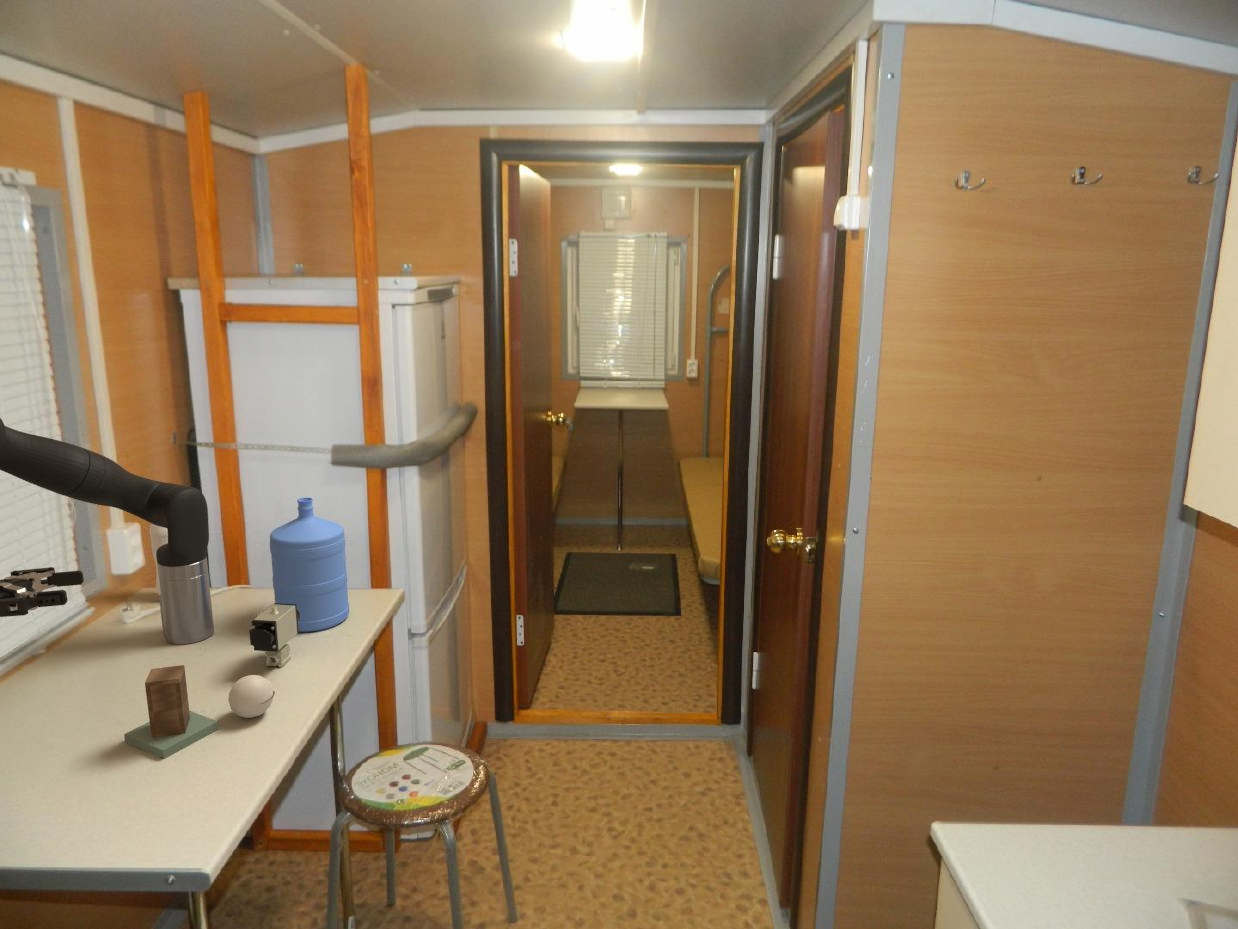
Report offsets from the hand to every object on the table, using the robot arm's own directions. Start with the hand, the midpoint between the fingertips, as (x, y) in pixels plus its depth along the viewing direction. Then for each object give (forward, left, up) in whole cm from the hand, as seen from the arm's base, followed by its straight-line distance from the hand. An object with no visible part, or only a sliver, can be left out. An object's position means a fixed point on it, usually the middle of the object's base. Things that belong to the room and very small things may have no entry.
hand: (74, 587), depth 130 cm
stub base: (+8, +8, -28) cm, 30 cm away
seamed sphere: (+14, +20, -28) cm, 37 cm away
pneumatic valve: (+2, +35, -28) cm, 45 cm away
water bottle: (-46, +47, -28) cm, 72 cm away
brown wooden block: (+8, +8, -26) cm, 29 cm away
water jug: (-8, +54, -28) cm, 61 cm away
